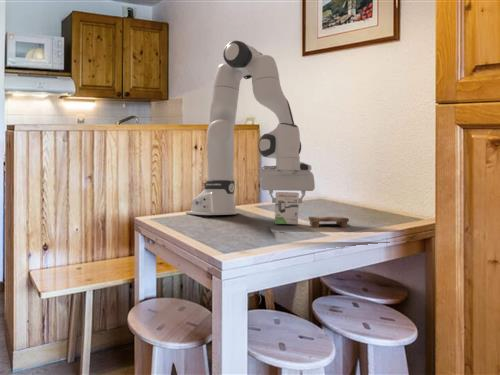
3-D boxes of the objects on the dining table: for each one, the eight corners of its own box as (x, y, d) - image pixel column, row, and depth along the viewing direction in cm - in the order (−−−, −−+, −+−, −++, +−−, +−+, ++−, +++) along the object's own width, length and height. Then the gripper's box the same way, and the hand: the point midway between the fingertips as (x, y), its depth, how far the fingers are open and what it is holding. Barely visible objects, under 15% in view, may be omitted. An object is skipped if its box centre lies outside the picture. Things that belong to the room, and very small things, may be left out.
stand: (312, 227, 158) (312, 218, 158) (308, 224, 169) (308, 216, 169) (348, 227, 158) (348, 218, 158) (342, 224, 169) (342, 216, 169)
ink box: (275, 223, 164) (275, 192, 164) (274, 222, 169) (275, 191, 169) (298, 224, 164) (299, 192, 164) (297, 223, 169) (298, 192, 169)
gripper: (259, 165, 164) (259, 202, 164) (315, 166, 163) (314, 203, 163) (260, 166, 170) (259, 202, 170) (313, 166, 169) (313, 203, 169)
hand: (287, 202), depth 167 cm, fingers closed on ink box, 8 cm apart
